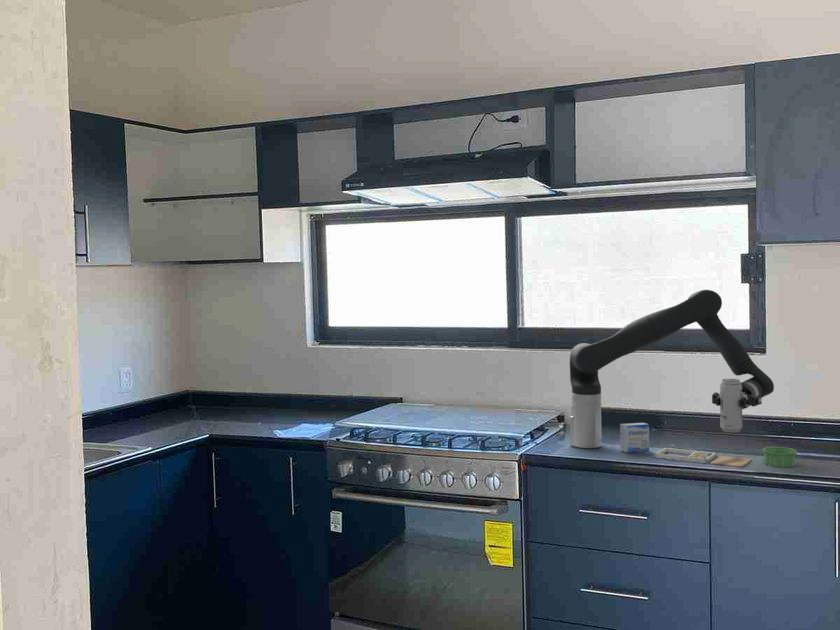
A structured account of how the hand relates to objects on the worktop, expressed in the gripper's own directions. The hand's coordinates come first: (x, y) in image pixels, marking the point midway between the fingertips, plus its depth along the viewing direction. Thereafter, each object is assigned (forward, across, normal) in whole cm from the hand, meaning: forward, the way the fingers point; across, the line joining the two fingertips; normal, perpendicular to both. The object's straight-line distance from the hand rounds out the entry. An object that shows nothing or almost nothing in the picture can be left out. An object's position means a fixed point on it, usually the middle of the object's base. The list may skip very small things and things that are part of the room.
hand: (729, 402), depth 241 cm
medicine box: (-3, -30, +18) cm, 35 cm away
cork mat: (-2, 0, +18) cm, 18 cm away
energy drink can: (-2, 0, +9) cm, 9 cm away
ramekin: (-6, +12, +18) cm, 23 cm away
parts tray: (-2, -13, +18) cm, 22 cm away
